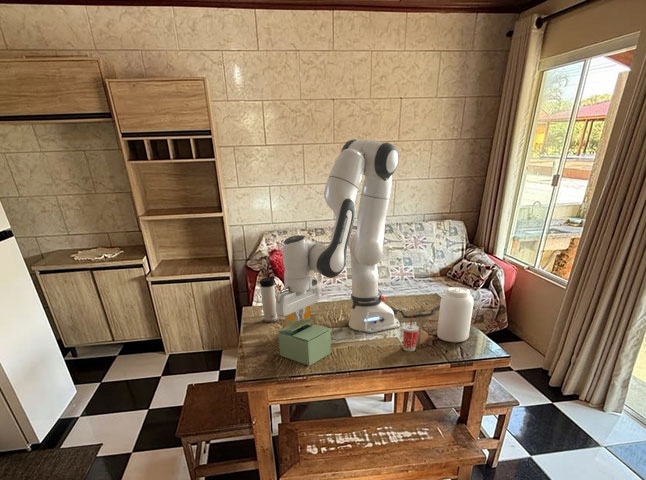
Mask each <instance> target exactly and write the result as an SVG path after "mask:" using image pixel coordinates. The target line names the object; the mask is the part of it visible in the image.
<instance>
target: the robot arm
mask: <svg viewBox="0 0 646 480" xmlns="http://www.w3.org/2000/svg"><path fill="white" fill-rule="evenodd" d="M399 160H400V153H399V150H398V148H397V146H395V145H394V144H393V143H390V142H383V141H380V140H374V139H357V138H356V139H350V140H348V141H346V142H345V144H343V146H342V148H341V151H340V153H339V155H338V156H337V158H336V160H335V161H334V164H333V166H332V168H331V170H330V172H329V174H328V175H329V176H328V177H327V180H326V184H325V188H324V193H323V197H324V200H325V202H326V203H325V204H327V206H328V207H329V208H330V209H331V210H332V211H333V214H334V218H335V221H334V225H333V229H332V233H331V237H330V241H329V243H328V244H327V245H326V244H323V243H321V242H320V243H319V242H317V241H312V240H311V239H308V238H306V237H305V236H304V235H301V234H298V235H292V236H289V237H287V238H286V239H284V240H283V244H282V266H283V268H284V274H283V279H284V280H283V281H284V288H282V289H280V290H278V292H277V293H276V295H275V297H276V313H277V316H278V317H284V318H285V316H287V315H289V314H291V313H292V314H293V315H294V317H295V321H297V322H298V321H300V320H303V315H304V312H305V307H308V306H310V307H311V306H313V305H315V304H317V303H319V300H320V288H319V281H320V280H319V279H318V278H316V277H311V276H310V272H312V271H313V272H316V273H318V274H319V275H322V276H324V277H326V278H329V279H333V278H336V277H338V276H339V275H341V273H342V272H343V271H344V269H345V266H346V263H347V261H346V260H347V251H348V246H349V257H350V270H351V294H350V307H351V310H350V316H349V322H348V327H349V328H350V329H352V330H355V331H359V332H365V333H368V334H372V333H376V332H381V331H387V330H393V329H396V328H399V327H400V326H401V324H400V321H399V319H398V318H397V317H395V315H397V313H398V312H399V313H401V315H402V317H403V318H411V315H412V318H416V317H426V316H431V315H434V314H435V311H436V310H438V309H440V305H438V306H435V307H434V308H432V312H430V313H420V314H411V315H406V314H405V313H404V312H403V310H400V309H397V308H395V307H394V306H391V305H390V306H389V305H388V304H386V303H385V301H386V300H387V298H386V296H385V295H383V294H381V293H380V292H379V272H378V264H379V262H380V261H381V260H382V258H383V255H384V242H385V241H384V239H385V230H386V229H385V228H386V227H385V226H386V220H387V219H386V218H387V214H388V209H389V204H390V198H391V193H392V185H393V174H394V173H395V172H396V170H397V168H398V165H399ZM363 176H364V181H363V184H362V188H361V194H360V198H359V204H358V211H357V206H356V199H357V195H358V192H359V189H360V187H361V183H362V180H363ZM356 213H357V220H356V223H357V224H356V232H354V233H353V235H352V236H351V234H352V232H353V227H354V223H355V219H356ZM298 313H299V315H298Z"/></svg>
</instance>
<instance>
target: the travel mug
mask: <svg viewBox="0 0 646 480" xmlns="http://www.w3.org/2000/svg"><path fill="white" fill-rule="evenodd" d="M259 287H260V296H261V303H262V310H263V311H262V314H263V320H264V322H266V323H275V322H277V321H278V319H279V318H278V317H279V316H278V314H277V313H276V298H277V297H276V287H275V276H274V277H273V276H267V277H263V278H261V279H260V280H259Z"/></svg>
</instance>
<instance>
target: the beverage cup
mask: <svg viewBox="0 0 646 480" xmlns="http://www.w3.org/2000/svg"><path fill="white" fill-rule="evenodd" d="M412 315H413V314H410V316H411V317H410V322H409V324H408V323H407V324H404V325H403V326H402V331H403V332H402V333H403V334H402V335H403V337H402V338H403V340H402V341H403V342H402V346H403V347H402V348H403V350H404V351H405V352H414V351H415V350H416V348H417V341H418V333H419V331H420V327H419V326H418V325H417V324H413V317H412Z"/></svg>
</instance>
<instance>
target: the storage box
mask: <svg viewBox="0 0 646 480" xmlns="http://www.w3.org/2000/svg"><path fill="white" fill-rule="evenodd" d="M331 334H332V333H331V328H330V327H326V326H323V325H319V324H313V325H312V324H311V325H309V324H306V325H304V326H302V327H300V328H298V329H296V330H294V331H292V332H277V337H278V338H277V339H278V349H279V356H280V357H283V358H286V359H288V360H291V361H294V362H297V363H300V364H303V365H306V366H308V367H309V366H310V367H311V366H312V365H314V364H315V363H317V362H319V361H321V360H322V359H323V358H325V357H327V356H329V355H330V354H332V337H331Z"/></svg>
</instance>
